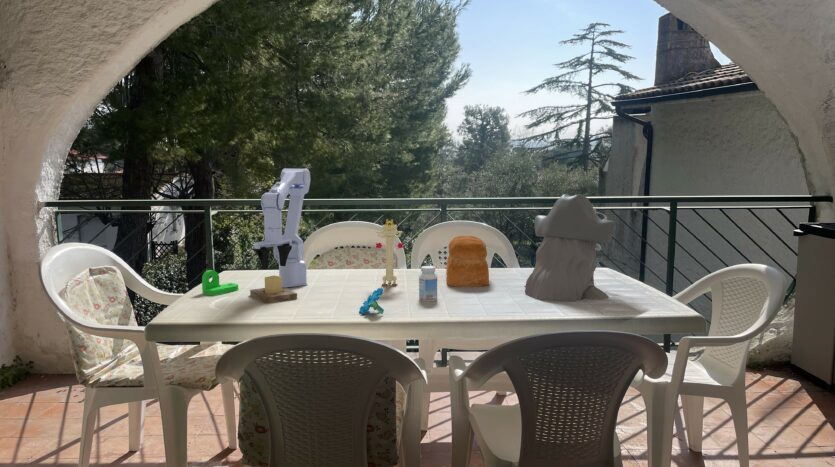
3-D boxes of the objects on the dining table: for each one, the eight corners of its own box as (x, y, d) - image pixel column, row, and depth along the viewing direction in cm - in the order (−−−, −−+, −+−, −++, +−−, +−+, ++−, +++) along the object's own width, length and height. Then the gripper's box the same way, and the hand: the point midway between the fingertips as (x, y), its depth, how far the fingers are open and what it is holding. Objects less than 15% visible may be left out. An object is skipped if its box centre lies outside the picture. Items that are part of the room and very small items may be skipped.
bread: (446, 288, 216) (447, 241, 214) (445, 275, 242) (446, 233, 240) (490, 289, 216) (491, 242, 214) (484, 275, 242) (485, 233, 240)
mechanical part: (213, 296, 202) (212, 273, 201) (202, 294, 206) (201, 271, 205) (242, 290, 212) (241, 268, 211) (231, 288, 216) (230, 266, 215)
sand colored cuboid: (274, 295, 203) (273, 275, 202) (282, 297, 201) (282, 276, 200) (265, 297, 200) (264, 277, 199) (273, 299, 198) (272, 278, 197)
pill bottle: (439, 299, 199) (439, 266, 198) (434, 303, 194) (434, 269, 192) (422, 297, 201) (422, 264, 200) (416, 301, 196) (416, 267, 194)
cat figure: (375, 287, 217) (375, 219, 214) (376, 282, 225) (376, 217, 222) (403, 287, 217) (403, 219, 214) (403, 282, 226) (403, 217, 223)
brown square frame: (281, 291, 209) (280, 286, 209) (297, 299, 198) (297, 293, 198) (250, 295, 203) (250, 289, 203) (265, 303, 192) (265, 297, 191)
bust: (632, 294, 209) (637, 194, 204) (587, 312, 184) (592, 198, 179) (546, 281, 231) (549, 190, 227) (496, 295, 206) (498, 193, 202)
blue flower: (356, 306, 184) (378, 282, 185) (370, 318, 186) (392, 295, 186) (358, 315, 174) (381, 290, 174) (373, 328, 175) (396, 303, 175)
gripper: (282, 225, 210) (283, 263, 212) (248, 228, 199) (249, 269, 200) (295, 226, 206) (296, 265, 207) (261, 230, 194) (262, 271, 196)
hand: (274, 267), depth 204 cm, fingers open, 7 cm apart
